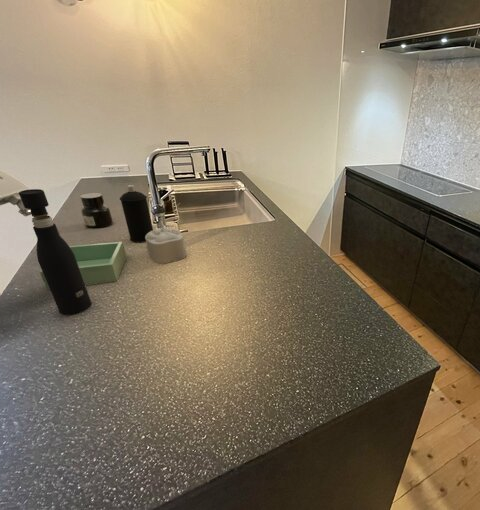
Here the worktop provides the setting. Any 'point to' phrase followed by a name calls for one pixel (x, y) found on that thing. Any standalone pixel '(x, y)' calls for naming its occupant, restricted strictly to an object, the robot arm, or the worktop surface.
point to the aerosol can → (136, 214)
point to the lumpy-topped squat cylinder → (165, 245)
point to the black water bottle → (56, 257)
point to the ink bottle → (95, 211)
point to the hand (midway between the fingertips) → (12, 221)
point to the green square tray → (98, 262)
